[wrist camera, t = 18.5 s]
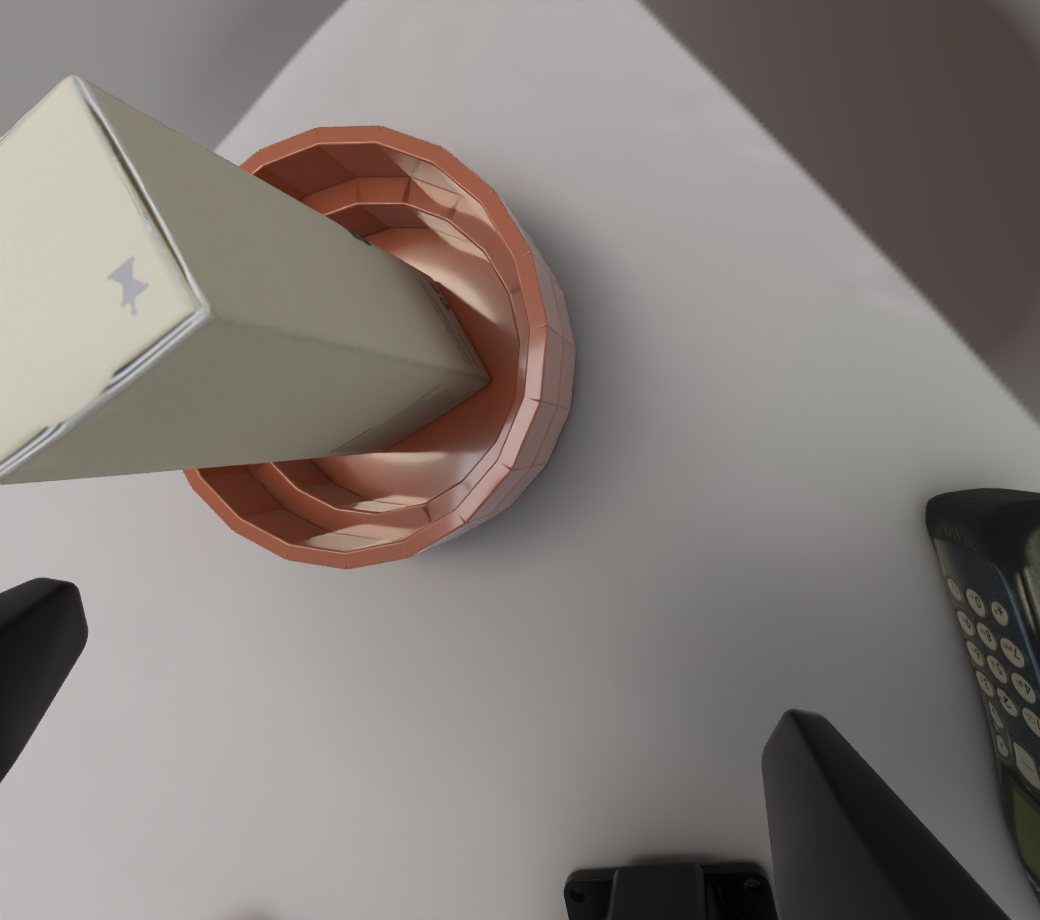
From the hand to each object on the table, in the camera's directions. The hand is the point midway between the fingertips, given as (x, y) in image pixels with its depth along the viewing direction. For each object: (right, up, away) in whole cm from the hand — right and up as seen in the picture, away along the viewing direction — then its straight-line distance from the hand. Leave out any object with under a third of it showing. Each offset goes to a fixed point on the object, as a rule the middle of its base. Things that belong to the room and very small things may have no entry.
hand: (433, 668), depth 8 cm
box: (-3, +6, +14) cm, 15 cm away
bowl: (-3, +6, +14) cm, 16 cm away
